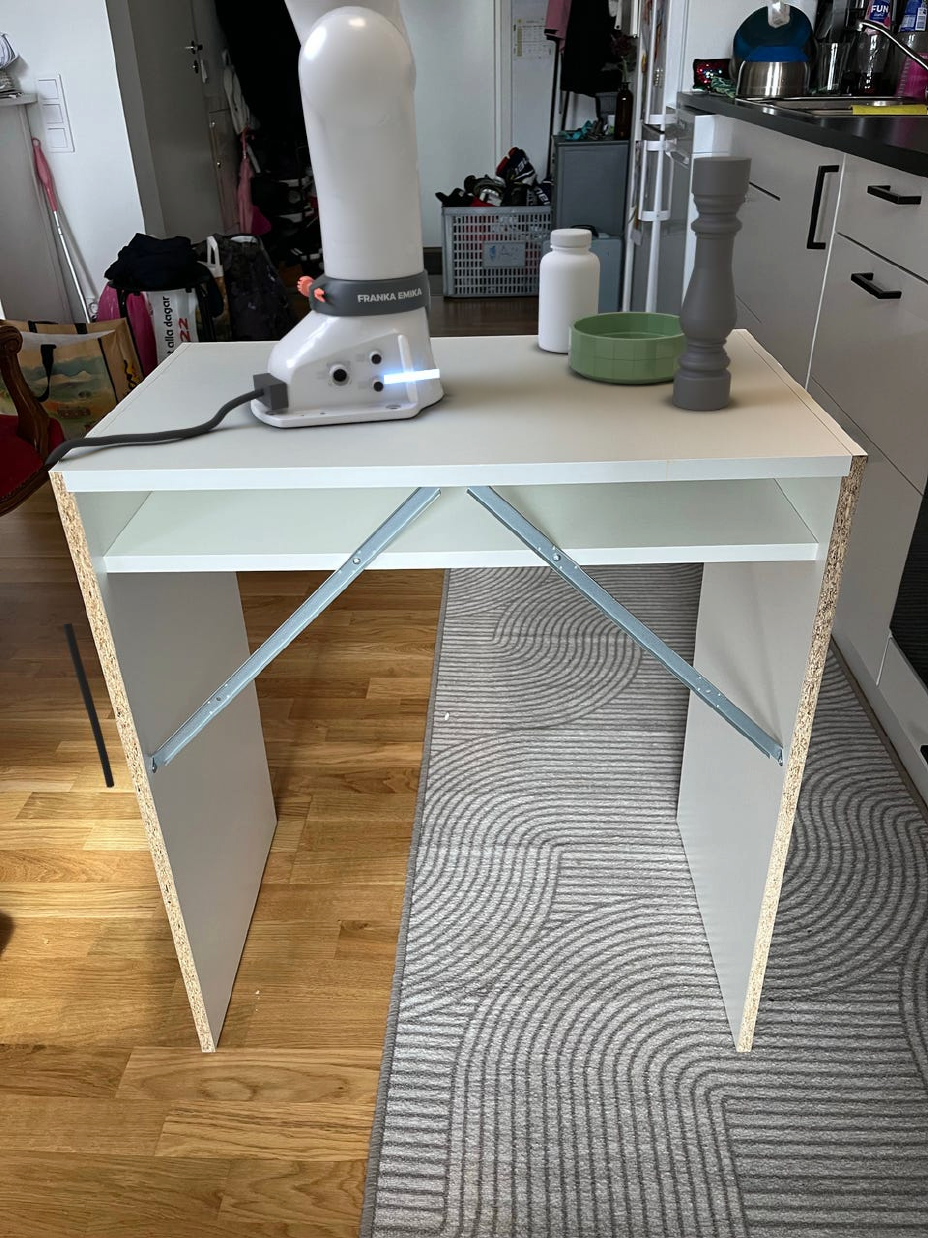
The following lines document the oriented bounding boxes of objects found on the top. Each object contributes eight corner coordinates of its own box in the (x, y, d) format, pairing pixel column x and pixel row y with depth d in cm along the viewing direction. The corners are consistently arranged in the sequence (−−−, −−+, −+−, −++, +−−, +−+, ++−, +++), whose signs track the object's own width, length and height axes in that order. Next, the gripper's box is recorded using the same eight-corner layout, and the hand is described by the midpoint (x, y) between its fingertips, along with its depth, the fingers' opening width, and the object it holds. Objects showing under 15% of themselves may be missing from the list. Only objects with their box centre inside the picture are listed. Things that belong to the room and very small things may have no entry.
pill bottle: (599, 353, 131) (604, 234, 123) (539, 355, 131) (541, 236, 124) (593, 339, 138) (598, 225, 130) (536, 341, 138) (537, 227, 131)
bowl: (604, 392, 115) (606, 345, 112) (548, 362, 127) (548, 319, 125) (718, 376, 119) (722, 330, 117) (653, 349, 132) (655, 307, 129)
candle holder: (729, 411, 107) (756, 160, 95) (671, 409, 108) (691, 161, 96) (727, 395, 112) (752, 155, 100) (672, 393, 113) (691, 156, 101)
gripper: (715, -107, 103) (715, 35, 105) (907, -212, 88) (902, -43, 90) (749, -88, 107) (749, 49, 109) (938, -185, 92) (933, -24, 94)
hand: (820, 7), depth 100 cm, fingers open, 8 cm apart
